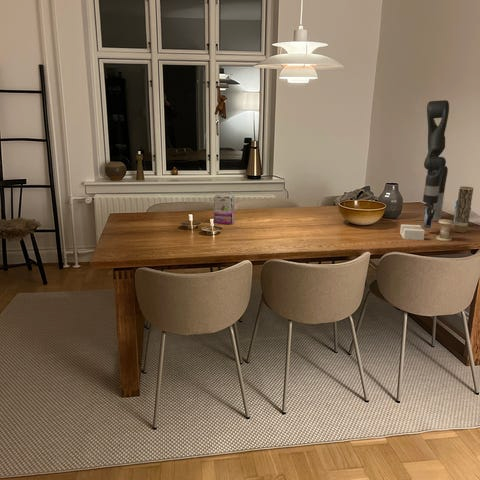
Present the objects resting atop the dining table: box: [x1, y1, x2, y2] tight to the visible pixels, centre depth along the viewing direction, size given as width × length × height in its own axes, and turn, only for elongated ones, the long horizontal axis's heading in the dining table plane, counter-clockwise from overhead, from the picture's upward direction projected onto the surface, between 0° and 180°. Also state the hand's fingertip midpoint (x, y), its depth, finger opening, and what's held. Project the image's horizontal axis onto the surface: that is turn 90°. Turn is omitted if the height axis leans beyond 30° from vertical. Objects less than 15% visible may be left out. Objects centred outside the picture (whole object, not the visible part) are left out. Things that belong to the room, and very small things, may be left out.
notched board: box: [399, 224, 426, 241], centre depth 254 cm, size 12×10×5 cm
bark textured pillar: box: [453, 186, 474, 234], centre depth 261 cm, size 7×7×25 cm
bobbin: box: [435, 218, 454, 242], centre depth 249 cm, size 8×8×10 cm
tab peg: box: [423, 211, 433, 229], centre depth 259 cm, size 4×4×9 cm
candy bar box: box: [213, 194, 235, 225], centre depth 277 cm, size 11×5×16 cm, turn 76°
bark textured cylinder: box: [452, 193, 472, 226], centre depth 275 cm, size 8×8×20 cm
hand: (427, 224), depth 260 cm, fingers closed on tab peg, 3 cm apart
